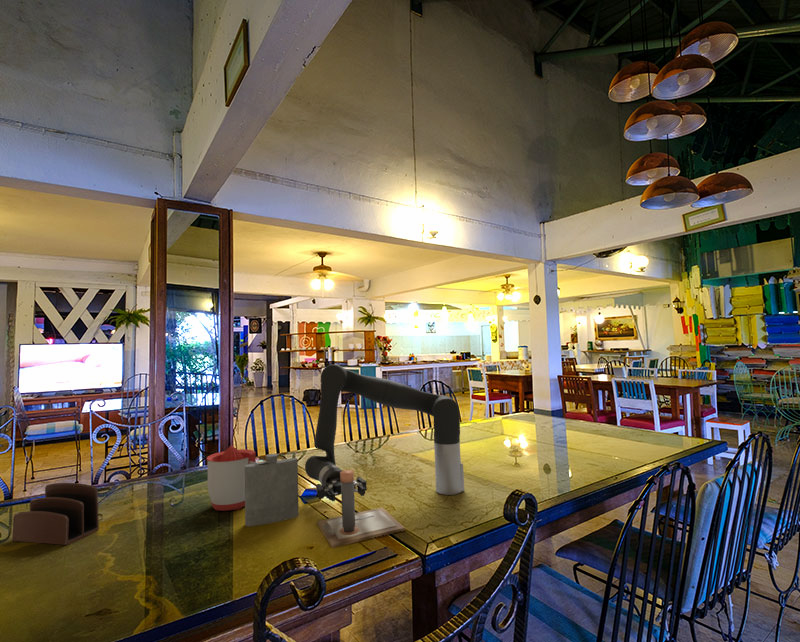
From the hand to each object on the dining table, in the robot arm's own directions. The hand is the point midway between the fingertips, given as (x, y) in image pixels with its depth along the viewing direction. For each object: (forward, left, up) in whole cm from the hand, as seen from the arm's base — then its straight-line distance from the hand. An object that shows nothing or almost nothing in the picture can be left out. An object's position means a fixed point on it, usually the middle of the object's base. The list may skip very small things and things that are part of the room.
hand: (348, 495), depth 117 cm
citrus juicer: (+28, -41, -11) cm, 51 cm away
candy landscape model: (+18, -67, -11) cm, 71 cm away
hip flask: (+18, -21, -11) cm, 30 cm away
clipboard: (-4, -3, -11) cm, 12 cm away
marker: (0, 0, -10) cm, 10 cm away
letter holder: (+77, -42, -11) cm, 88 cm away
